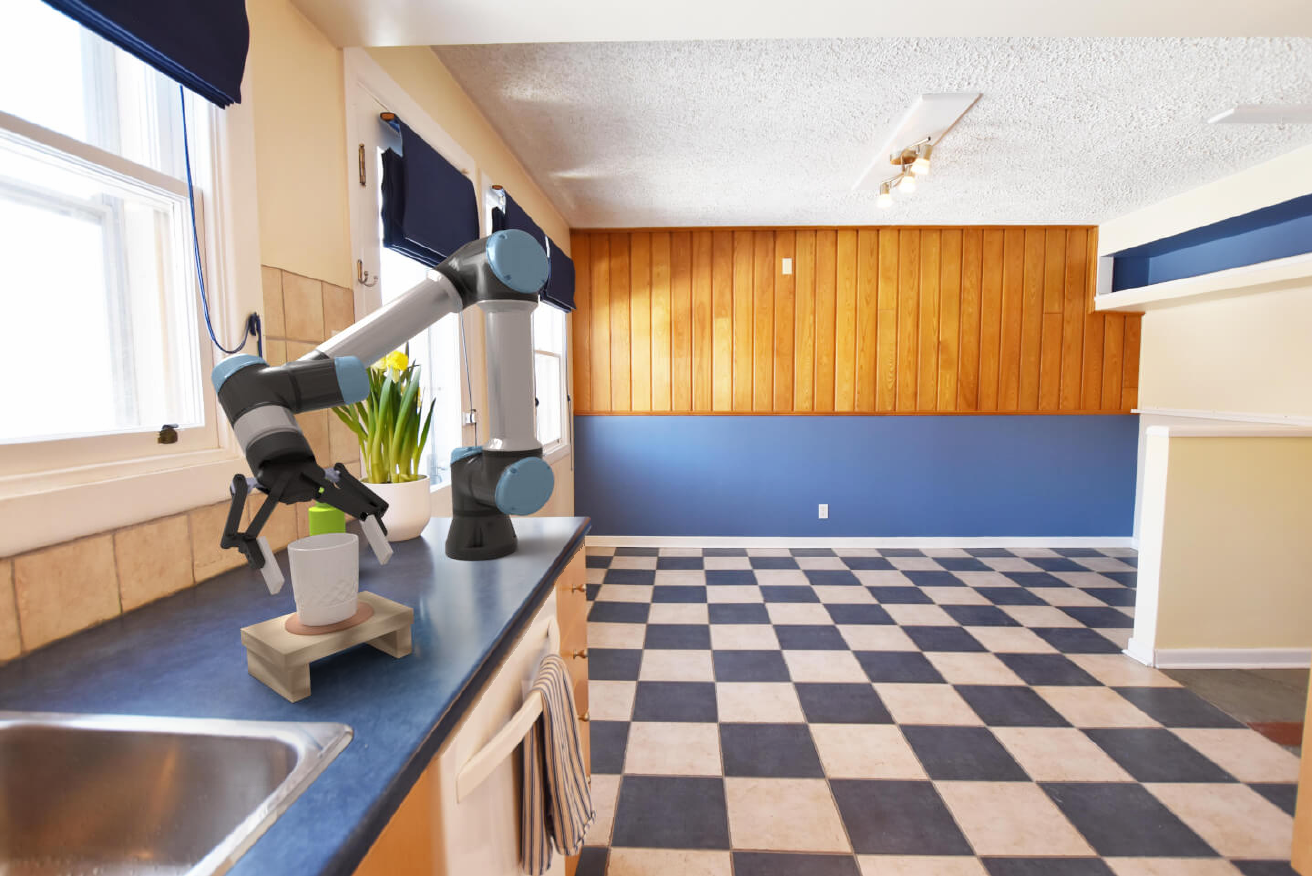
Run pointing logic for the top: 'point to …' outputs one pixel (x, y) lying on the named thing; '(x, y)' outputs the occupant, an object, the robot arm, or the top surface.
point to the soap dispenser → (325, 519)
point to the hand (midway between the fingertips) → (336, 572)
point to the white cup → (325, 577)
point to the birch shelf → (322, 642)
